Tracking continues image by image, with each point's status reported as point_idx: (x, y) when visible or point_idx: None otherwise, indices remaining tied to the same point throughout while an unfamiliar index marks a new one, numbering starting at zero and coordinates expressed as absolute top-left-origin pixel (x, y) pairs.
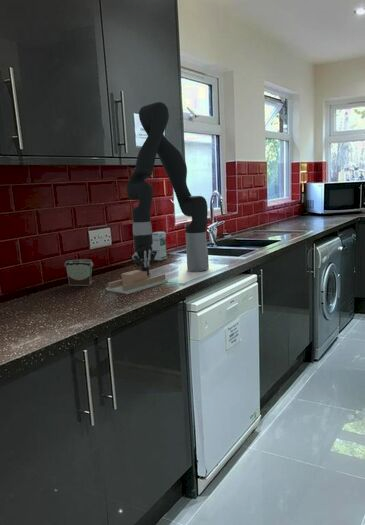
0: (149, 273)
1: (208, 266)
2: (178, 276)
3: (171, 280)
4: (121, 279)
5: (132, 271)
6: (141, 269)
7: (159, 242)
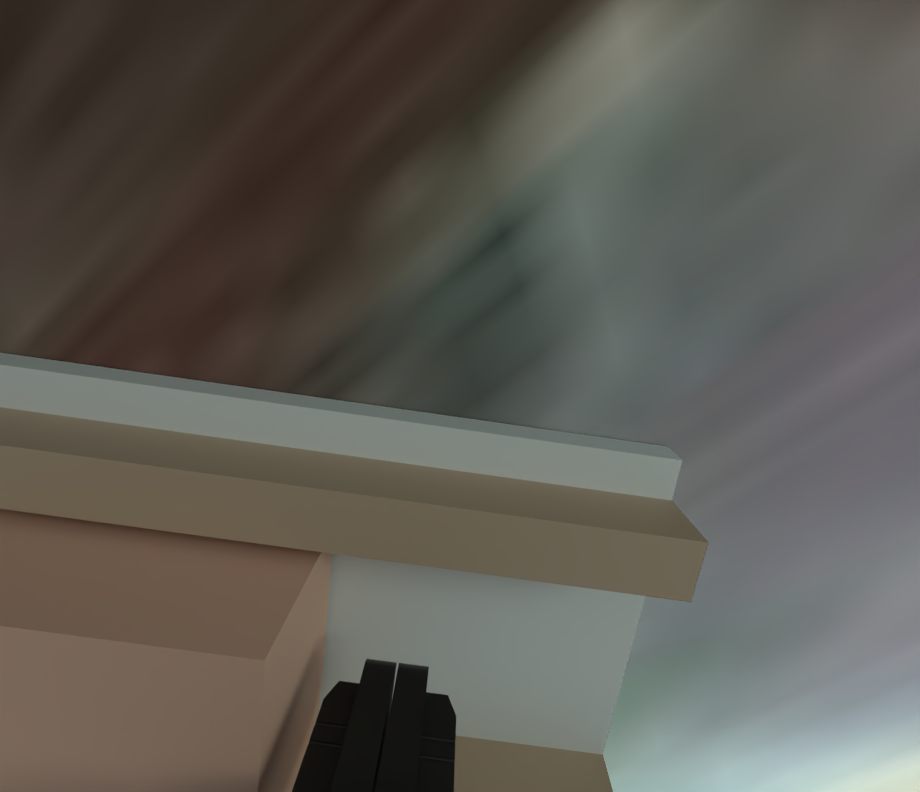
0: (661, 591)
1: None
2: (912, 757)
3: (668, 786)
4: (3, 456)
5: (100, 677)
6: (292, 789)
7: None
